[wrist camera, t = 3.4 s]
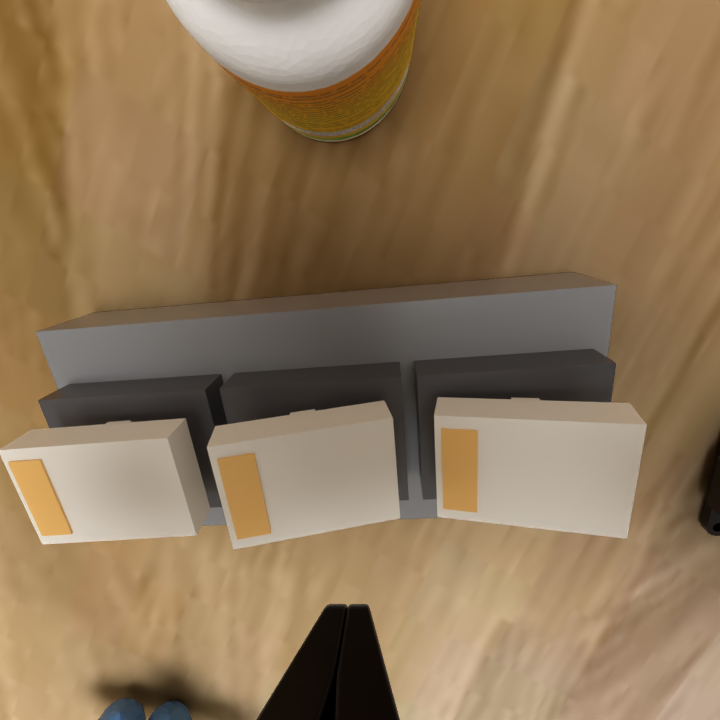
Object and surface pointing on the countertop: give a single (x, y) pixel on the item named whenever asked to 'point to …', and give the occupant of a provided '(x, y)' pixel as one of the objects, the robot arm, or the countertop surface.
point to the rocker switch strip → (337, 361)
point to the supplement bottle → (311, 56)
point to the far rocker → (109, 481)
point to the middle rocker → (306, 473)
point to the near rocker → (538, 463)
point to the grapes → (129, 715)
